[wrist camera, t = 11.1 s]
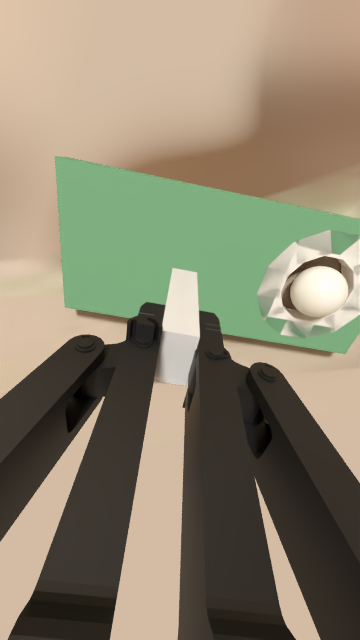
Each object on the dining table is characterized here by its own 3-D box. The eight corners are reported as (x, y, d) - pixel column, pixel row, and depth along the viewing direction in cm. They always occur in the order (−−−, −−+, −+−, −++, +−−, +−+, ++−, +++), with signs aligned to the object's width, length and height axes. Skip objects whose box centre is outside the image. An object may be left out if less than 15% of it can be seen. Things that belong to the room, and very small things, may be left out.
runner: (66, 157, 19) (54, 156, 17) (406, 228, 21) (426, 234, 19) (73, 297, 25) (64, 307, 23) (335, 342, 27) (345, 354, 25)
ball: (293, 257, 21) (345, 278, 18) (319, 259, 23) (368, 278, 20) (272, 303, 23) (315, 329, 20) (298, 301, 25) (340, 323, 23)
